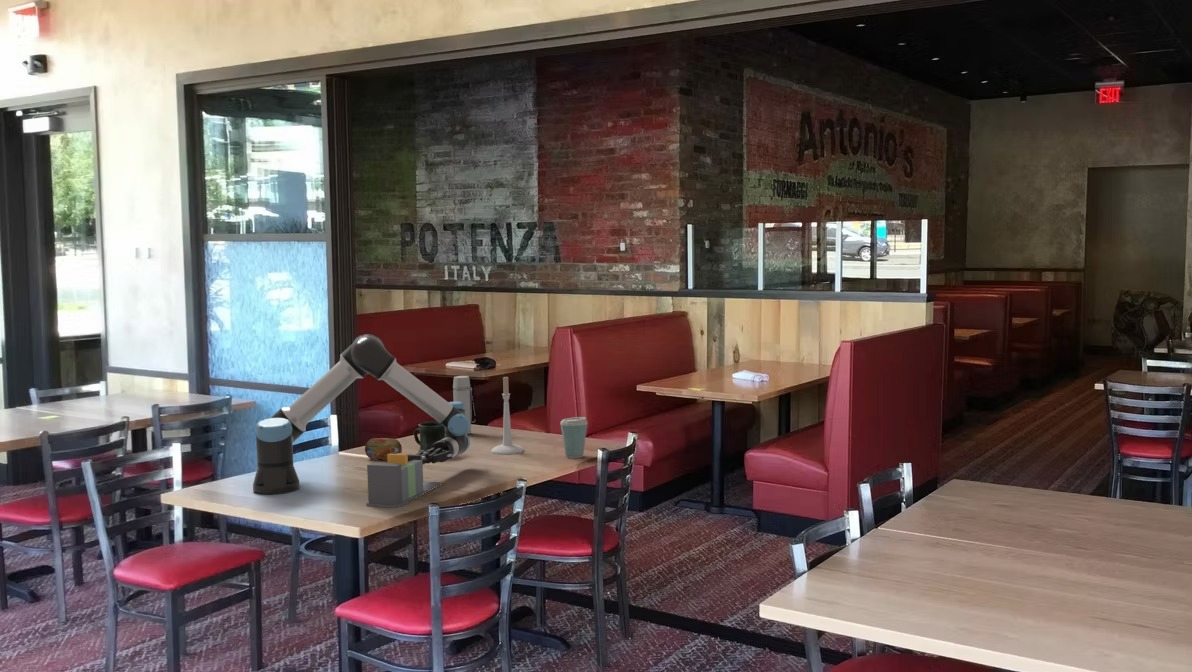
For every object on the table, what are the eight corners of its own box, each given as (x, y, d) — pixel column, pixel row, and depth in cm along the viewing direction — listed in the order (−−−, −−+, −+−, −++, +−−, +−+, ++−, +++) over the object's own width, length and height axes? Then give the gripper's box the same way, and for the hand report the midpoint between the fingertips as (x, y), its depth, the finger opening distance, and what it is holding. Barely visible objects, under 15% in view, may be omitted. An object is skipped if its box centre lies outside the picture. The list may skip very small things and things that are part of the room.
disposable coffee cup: (560, 459, 386) (559, 420, 385) (560, 454, 397) (559, 415, 395) (588, 459, 386) (588, 420, 385) (588, 453, 397) (587, 415, 396)
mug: (437, 457, 394) (436, 427, 393) (406, 454, 401) (405, 424, 400) (453, 452, 404) (452, 422, 403) (423, 449, 411) (422, 420, 410)
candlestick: (496, 447, 412) (494, 374, 409) (527, 448, 410) (525, 374, 407) (487, 454, 399) (485, 378, 397) (519, 454, 397) (517, 378, 395)
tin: (364, 459, 393) (364, 438, 393) (369, 457, 396) (368, 436, 396) (399, 461, 389) (398, 439, 388) (403, 459, 392) (402, 438, 391)
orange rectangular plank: (389, 462, 331) (389, 453, 331) (407, 463, 329) (407, 454, 329) (387, 463, 329) (387, 454, 329) (405, 464, 328) (405, 455, 327)
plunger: (406, 472, 341) (405, 447, 341) (422, 472, 340) (421, 448, 339) (381, 483, 325) (380, 457, 324) (398, 484, 323) (397, 458, 323)
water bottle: (454, 435, 440) (452, 378, 438) (454, 432, 448) (453, 376, 446) (475, 435, 441) (473, 377, 439) (475, 431, 449) (474, 375, 447)
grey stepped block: (412, 483, 352) (411, 445, 351) (441, 484, 349) (440, 447, 347) (366, 505, 321) (364, 465, 320) (398, 507, 318) (396, 466, 317)
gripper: (461, 461, 362) (433, 475, 339) (427, 459, 365) (397, 474, 343) (461, 440, 361) (432, 453, 338) (427, 438, 365) (396, 451, 342)
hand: (414, 463), depth 341 cm, fingers closed
